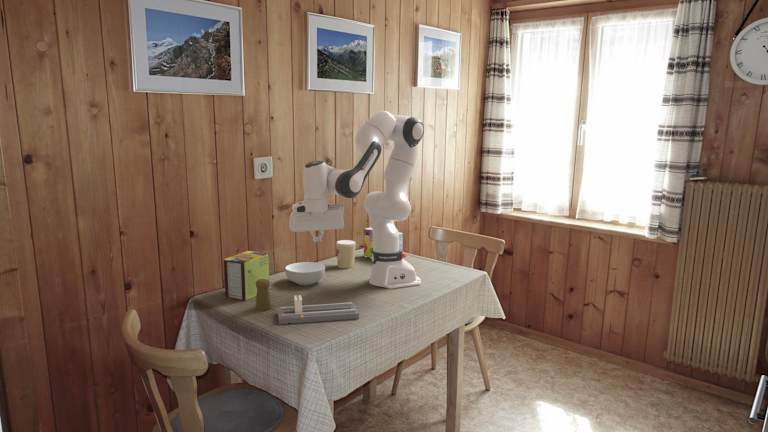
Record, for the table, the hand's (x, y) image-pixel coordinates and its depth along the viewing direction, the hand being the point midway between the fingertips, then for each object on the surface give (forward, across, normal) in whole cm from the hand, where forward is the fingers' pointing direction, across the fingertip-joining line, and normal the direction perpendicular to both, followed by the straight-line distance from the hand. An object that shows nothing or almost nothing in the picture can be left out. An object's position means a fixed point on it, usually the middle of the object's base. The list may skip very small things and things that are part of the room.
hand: (317, 241), depth 202 cm
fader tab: (+22, +9, +13) cm, 27 cm away
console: (+24, +2, +13) cm, 27 cm away
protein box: (+24, +27, -18) cm, 40 cm away
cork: (+24, +21, 0) cm, 32 cm away
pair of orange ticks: (+22, +8, +13) cm, 27 cm away
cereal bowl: (+25, +3, -27) cm, 37 cm away
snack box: (+27, -39, -57) cm, 74 cm away
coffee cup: (+26, -19, -48) cm, 58 cm away
